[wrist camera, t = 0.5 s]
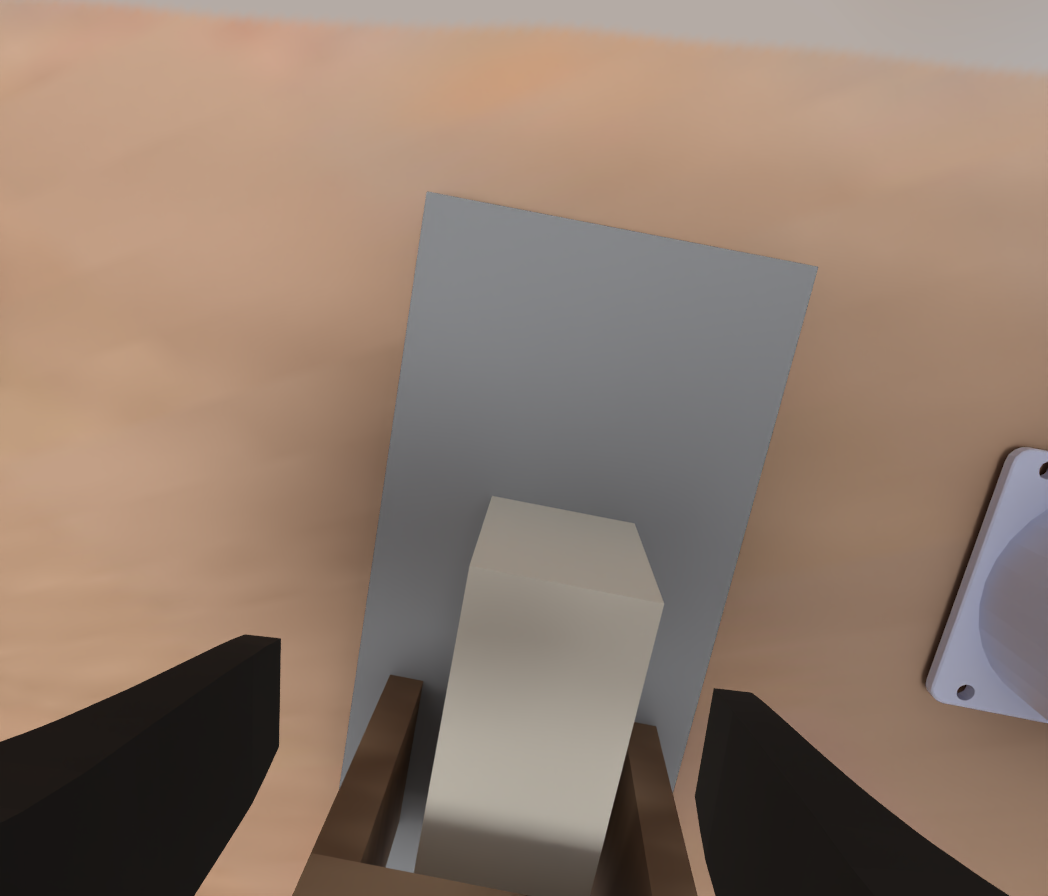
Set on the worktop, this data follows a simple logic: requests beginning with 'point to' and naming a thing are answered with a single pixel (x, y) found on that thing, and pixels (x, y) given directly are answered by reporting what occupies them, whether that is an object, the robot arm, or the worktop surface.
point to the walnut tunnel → (378, 892)
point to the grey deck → (571, 436)
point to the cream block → (539, 700)
